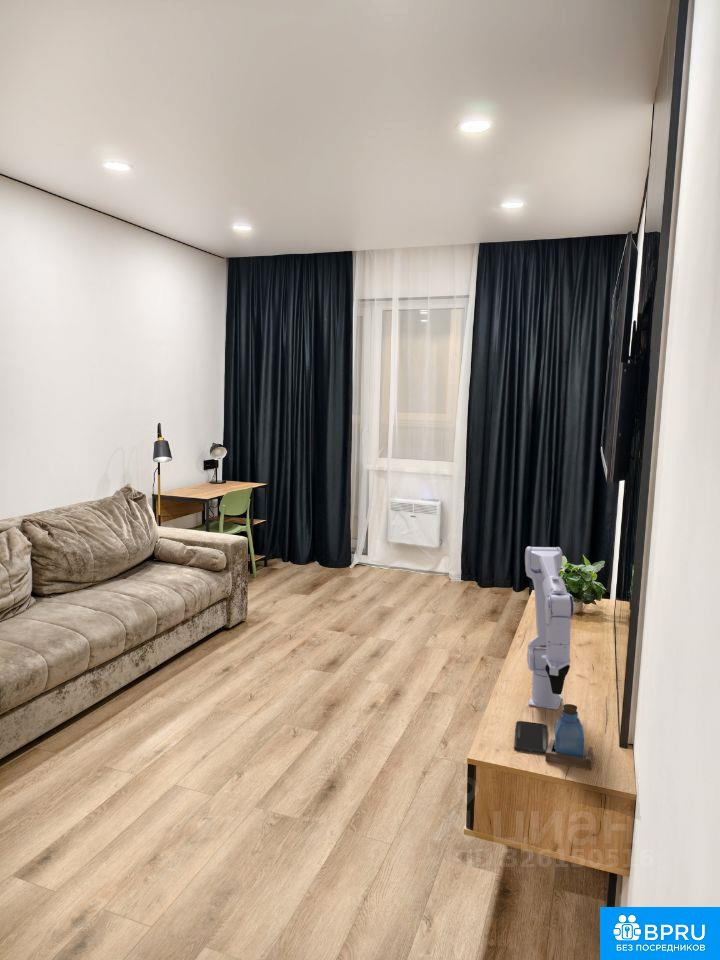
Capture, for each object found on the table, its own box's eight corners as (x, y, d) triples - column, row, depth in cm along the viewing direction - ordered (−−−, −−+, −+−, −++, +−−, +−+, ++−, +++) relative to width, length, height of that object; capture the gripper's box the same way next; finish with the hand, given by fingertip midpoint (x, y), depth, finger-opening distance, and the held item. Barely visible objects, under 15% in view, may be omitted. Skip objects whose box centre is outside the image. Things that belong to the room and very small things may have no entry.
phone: (547, 724, 168) (547, 751, 154) (547, 728, 169) (547, 756, 154) (516, 720, 171) (513, 747, 156) (515, 724, 171) (513, 751, 156)
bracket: (550, 746, 158) (550, 738, 158) (593, 755, 154) (593, 747, 154) (545, 760, 151) (545, 752, 151) (590, 769, 147) (591, 761, 147)
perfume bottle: (581, 751, 156) (583, 703, 155) (583, 764, 150) (585, 714, 149) (554, 748, 158) (556, 700, 157) (555, 760, 152) (556, 710, 151)
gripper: (546, 631, 174) (545, 680, 175) (537, 648, 161) (536, 701, 162) (574, 634, 171) (572, 684, 172) (567, 652, 158) (565, 706, 159)
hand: (556, 693), depth 167 cm, fingers closed
